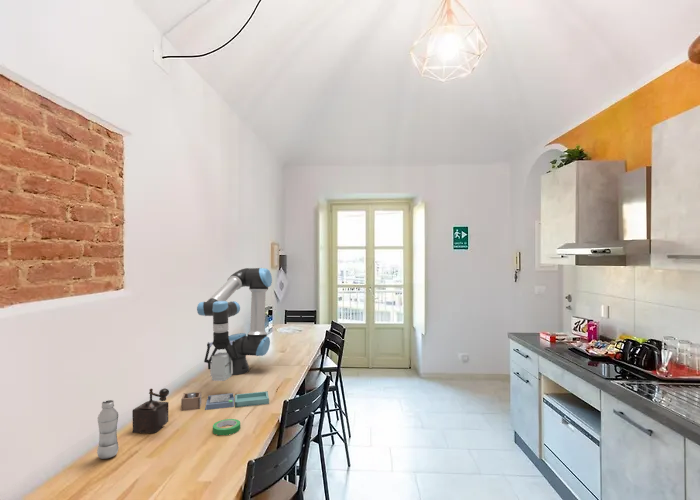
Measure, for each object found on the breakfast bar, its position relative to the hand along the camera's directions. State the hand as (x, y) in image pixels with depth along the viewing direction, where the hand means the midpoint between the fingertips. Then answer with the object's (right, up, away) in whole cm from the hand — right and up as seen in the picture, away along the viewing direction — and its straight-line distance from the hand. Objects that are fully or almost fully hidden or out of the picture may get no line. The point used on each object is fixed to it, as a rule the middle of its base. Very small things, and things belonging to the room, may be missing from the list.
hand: (221, 374), depth 204 cm
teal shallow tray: (+18, -11, -8) cm, 22 cm away
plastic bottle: (-22, -11, -61) cm, 65 cm away
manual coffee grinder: (-16, -11, -37) cm, 42 cm away
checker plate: (+3, -9, -12) cm, 15 cm away
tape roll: (+15, -11, -39) cm, 43 cm away
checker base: (+3, -11, -12) cm, 17 cm away
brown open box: (-9, -11, -16) cm, 21 cm away
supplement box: (0, -2, 0) cm, 2 cm away
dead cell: (-9, -10, -16) cm, 21 cm away
